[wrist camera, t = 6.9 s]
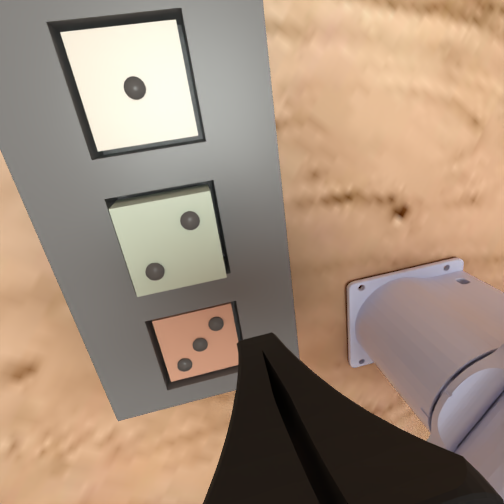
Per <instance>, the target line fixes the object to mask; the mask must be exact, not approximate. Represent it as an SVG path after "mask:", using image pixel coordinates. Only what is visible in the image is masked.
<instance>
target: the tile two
mask: <svg viewBox="0 0 504 504" xmlns="http://www.w3.org/2000/svg"><path fill="white" fill-rule="evenodd" d="M109 212H110V215H111V218H112V221H113V224H114V228H115V231H116V234H117V237H118V240H119V243H120V246H121V249H122V252H123V255H124V258H125V261H126V264H127V267H128V270H129V273H130V276H131V279H132V282H133V285H134V289H135V292H136V295H137V297H140V296H145V295H149V294H154V293H159V292H163V291H168V290H172V289H177V288H181V287H186V286H191V285H195V284H200V283H204V282H209V281H213V280H218V279H223V278H227V275H226V270H225V265H224V260H223V255H222V249H221V244H220V239H219V234H218V229H217V223H216V218H215V213H214V208H213V203H212V198H211V192H210V189H209V187H208V184H205V185H200V186H194V187H189V188H183V189H177V190H172V191H166V192H161V193H155V194H149V195H144V196H138V197H133V198H127V199H121V200H116V201H115V202H114V204H113V205H112V206H111V207H110V208H109Z"/></svg>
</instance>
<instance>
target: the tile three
mask: <svg viewBox="0 0 504 504" xmlns="http://www.w3.org/2000/svg"><path fill="white" fill-rule="evenodd" d="M152 323H153V326H154V330H155V333H156V336H157V339H158V342H159V345H160V348H161V352H162V355H163V358H164V361H165V364H166V367H167V370H168V374H169V377H170V380H171V382H173V381H177V380H181V379H185V378H189V377H193V376H196V375H200V374H204V373H208V372H212V371H216V370H220V369H224V368H228V367H232V366H236V365H238V348H237V343H238V337H237V332H236V327H235V322H234V316H233V311H232V306H231V302H228V303H224V304H220V305H215V306H211V307H206V308H202V309H198V310H193V311H189V312H185V313H180V314H176V315H171V316H167V317H163V318H158V319H154V320H152Z"/></svg>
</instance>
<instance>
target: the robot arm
mask: <svg viewBox="0 0 504 504" xmlns="http://www.w3.org/2000/svg"><path fill="white" fill-rule="evenodd" d="M463 265H464V261H463V260H462V259H460V258H452V259H447V260H443V261H439V262H435V263H430V264H426V265H422V266H417V267H413V268H409V269H404V270H400V271H396V272H391V273H387V274H383V275H378V276H374V277H370V278H365V279H361V280H357V281H353V282H350V283H349V284H348V286H347V319H348V359H349V364H350V366H351V367H353V368H355V367H360V366H363V365H367V364H371V363H375V364H376V365H377V367H378V368H379V369H380V370H381V372H382V373H383V374H384V375H385V377H386V378H387V379H388V380H389V382H390V383H391V384H392V385H393V387H394V388H395V389H396V390H397V392H398V393H399V394H400V395H401V397H402V398H403V399H404V400H405V402H406V403H407V404H408V405H409V407H410V408H411V409H412V410H413V412H414V413H415V414H416V415H417V417H418V418H419V419H420V421H421V422H422V423H423V424H424V426H425V427H426V428H427V429H428V431H429V432H430V436H429V438H428V439H427V441H425V440H423V439H420V438H418V437H416V436H414V435H412V434H410V433H408V432H406V431H404V430H402V429H399V428H398V427H396V426H394V425H392V424H390V423H389V422H387V421H385V420H383V419H381V418H379V417H378V416H376V415H374V414H372V413H370V412H369V411H367V410H365V409H364V408H362V407H361V406H359V405H357V404H356V403H354V402H353V401H351V400H350V399H348V398H347V397H345V396H344V395H342V394H341V393H340V392H338V391H337V390H335V389H334V388H333V387H331V386H330V385H329V384H328V383H326V382H325V381H324V380H322V379H321V378H320V377H319V376H317V375H316V374H315V373H314V372H313V371H312V370H310V369H309V368H308V367H307V366H306V365H305V364H304V363H303V362H302V361H300V360H299V359H298V358H297V357H296V356H295V355H294V354H293V353H292V352H291V351H290V350H289V349H288V348H287V347H286V346H285V345H284V344H283V343H282V342H281V340H280V339H279V338H278V337H277V336H276V335H275V334H274V333H272V332H271V333H267V334H263V335H259V336H256V337H252V338H248V339H244V340H240V341H239V342H238V343H237V348H238V376H237V386H236V393H235V399H234V405H233V410H232V415H231V420H230V424H229V428H228V432H227V436H226V439H225V443H224V446H223V449H222V452H221V456H220V459H219V462H218V465H217V468H216V471H215V474H214V476H213V479H212V481H211V484H210V487H209V489H208V492H207V494H206V497H205V500H204V502H203V504H504V292H502V291H500V290H498V289H496V288H494V287H493V286H491V285H489V284H487V283H485V282H483V281H481V280H479V279H477V278H476V277H474V276H472V275H470V274H468V273H466V272H464V271H463ZM444 267H445V268H444ZM360 285H362V287H361V288H359V286H360ZM358 288H359V289H358ZM361 359H362V360H361Z"/></svg>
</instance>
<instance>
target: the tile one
mask: <svg viewBox="0 0 504 504" xmlns="http://www.w3.org/2000/svg"><path fill="white" fill-rule="evenodd" d="M60 34H61V37H62V40H63V43H64V46H65V49H66V53H67V56H68V59H69V62H70V65H71V68H72V71H73V75H74V78H75V81H76V84H77V87H78V90H79V93H80V97H81V100H82V103H83V106H84V109H85V112H86V116H87V119H88V122H89V125H90V128H91V131H92V134H93V138H94V141H95V144H96V147H97V150H98V151H104V150H111V149H117V148H123V147H130V146H136V145H142V144H149V143H155V142H161V141H167V140H174V139H180V138H186V137H193V136H198V131H197V126H196V121H195V116H194V111H193V105H192V100H191V95H190V90H189V85H188V80H187V74H186V69H185V64H184V59H183V54H182V49H181V44H180V38H179V33H178V28H177V23H176V19H175V20H166V21H157V22H148V23H139V24H130V25H121V26H112V27H103V28H94V29H85V30H76V31H67V32H60Z"/></svg>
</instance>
